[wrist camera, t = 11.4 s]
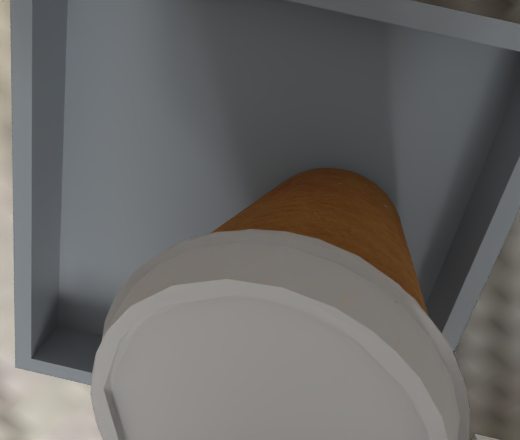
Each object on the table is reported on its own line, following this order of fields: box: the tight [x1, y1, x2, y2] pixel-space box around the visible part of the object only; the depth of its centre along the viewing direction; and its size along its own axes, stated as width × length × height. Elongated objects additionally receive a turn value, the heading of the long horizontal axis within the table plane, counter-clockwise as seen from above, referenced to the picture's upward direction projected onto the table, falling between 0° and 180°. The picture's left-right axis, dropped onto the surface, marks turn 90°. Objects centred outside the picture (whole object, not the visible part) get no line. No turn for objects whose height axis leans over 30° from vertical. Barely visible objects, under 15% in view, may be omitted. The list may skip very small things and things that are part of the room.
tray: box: [10, 0, 520, 385], centre depth 22 cm, size 20×20×4 cm
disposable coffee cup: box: [91, 168, 470, 440], centre depth 17 cm, size 10×10×12 cm
